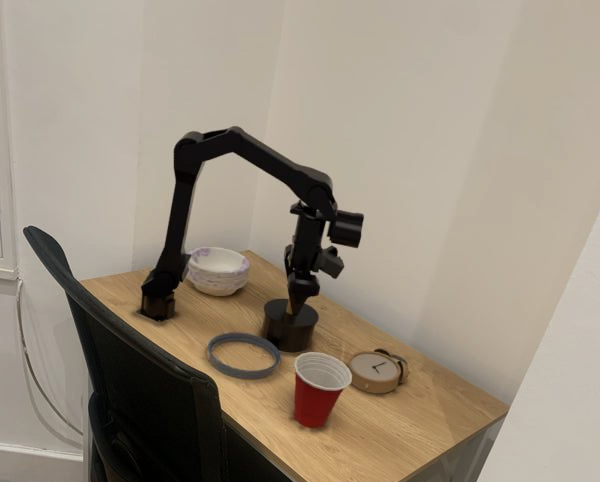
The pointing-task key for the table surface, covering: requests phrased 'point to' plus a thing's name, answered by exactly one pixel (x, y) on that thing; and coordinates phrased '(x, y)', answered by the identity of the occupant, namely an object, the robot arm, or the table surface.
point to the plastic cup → (318, 387)
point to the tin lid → (290, 314)
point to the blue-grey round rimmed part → (245, 339)
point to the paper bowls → (217, 270)
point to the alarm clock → (377, 370)
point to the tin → (286, 336)
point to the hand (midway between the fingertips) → (293, 304)
